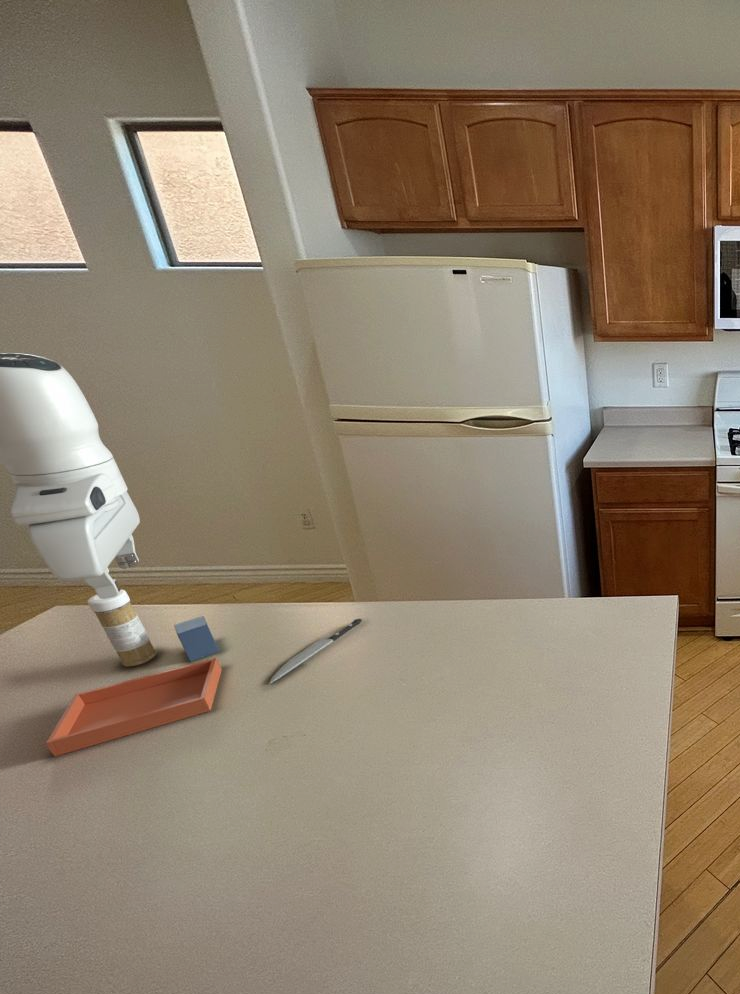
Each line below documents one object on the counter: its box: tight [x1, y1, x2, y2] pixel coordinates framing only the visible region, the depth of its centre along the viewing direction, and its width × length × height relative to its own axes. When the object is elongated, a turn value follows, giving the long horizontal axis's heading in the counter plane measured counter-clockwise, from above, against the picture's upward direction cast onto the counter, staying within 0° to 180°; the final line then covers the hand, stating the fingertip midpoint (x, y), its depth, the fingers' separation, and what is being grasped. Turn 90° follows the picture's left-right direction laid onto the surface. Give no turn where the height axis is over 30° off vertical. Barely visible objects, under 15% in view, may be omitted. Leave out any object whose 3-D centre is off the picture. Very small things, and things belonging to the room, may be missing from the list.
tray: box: [45, 657, 223, 757], centre depth 87 cm, size 17×12×3 cm
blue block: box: [173, 615, 220, 663], centre depth 99 cm, size 4×4×6 cm
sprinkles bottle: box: [87, 588, 157, 667], centre depth 95 cm, size 5×5×13 cm
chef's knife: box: [268, 618, 363, 685], centre depth 101 cm, size 19×1×3 cm
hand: (121, 580), depth 76 cm, fingers open, 8 cm apart
